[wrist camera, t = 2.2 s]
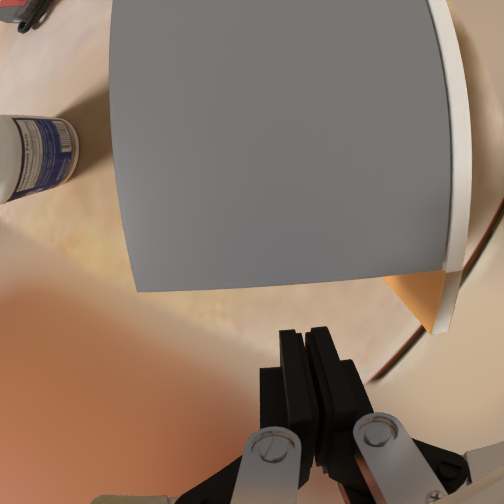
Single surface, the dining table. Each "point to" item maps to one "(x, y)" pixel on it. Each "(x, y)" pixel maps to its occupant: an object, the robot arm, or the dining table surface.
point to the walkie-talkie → (22, 12)
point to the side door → (448, 279)
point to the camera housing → (278, 141)
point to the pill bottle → (35, 154)
